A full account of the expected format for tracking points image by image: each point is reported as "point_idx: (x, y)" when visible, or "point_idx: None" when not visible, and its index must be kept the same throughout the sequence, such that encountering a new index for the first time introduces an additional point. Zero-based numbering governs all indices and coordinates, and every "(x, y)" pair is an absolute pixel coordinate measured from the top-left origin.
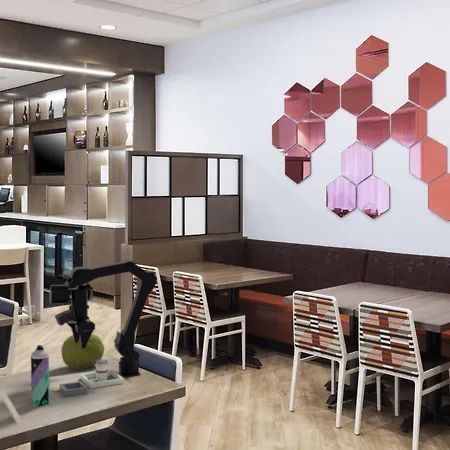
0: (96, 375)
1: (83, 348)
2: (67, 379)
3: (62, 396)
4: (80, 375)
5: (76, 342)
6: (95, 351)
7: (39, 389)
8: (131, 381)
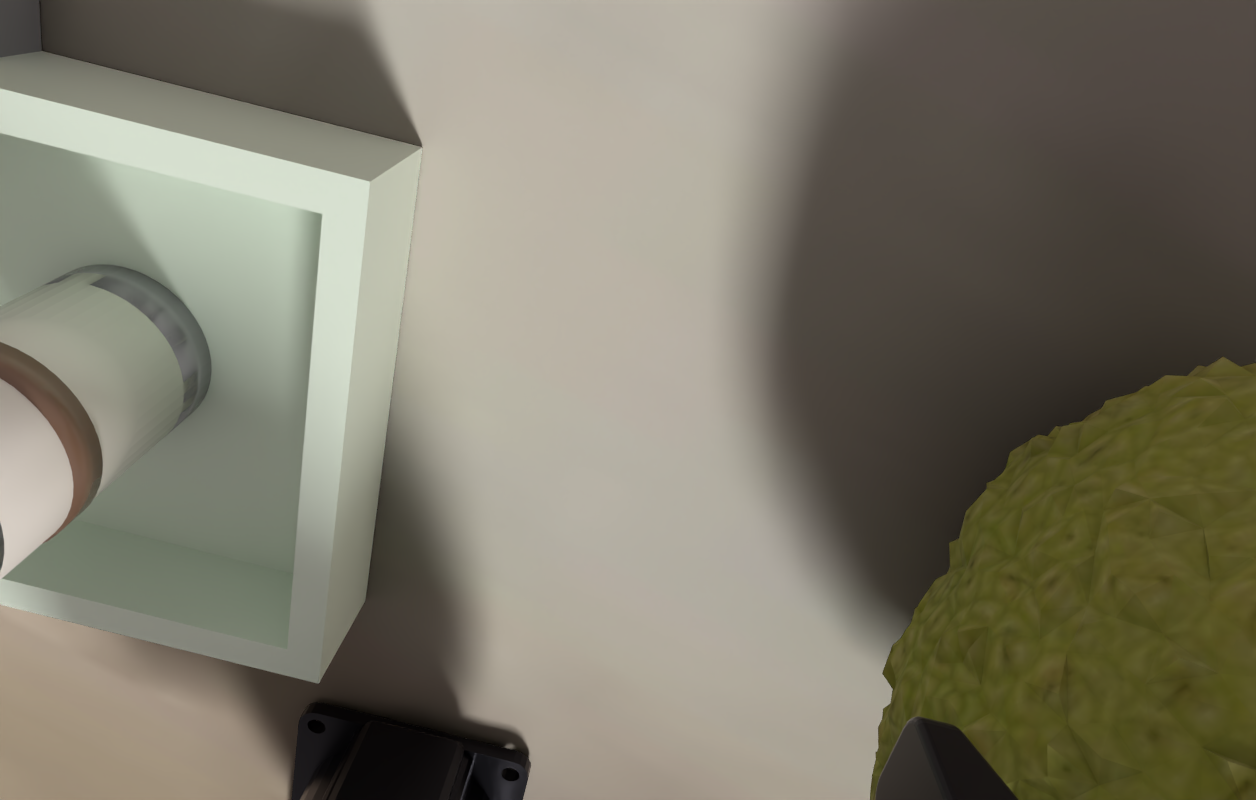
0: (20, 317)
1: None
2: (747, 61)
3: None
4: (372, 173)
5: (899, 743)
6: None
7: None
8: (119, 669)
